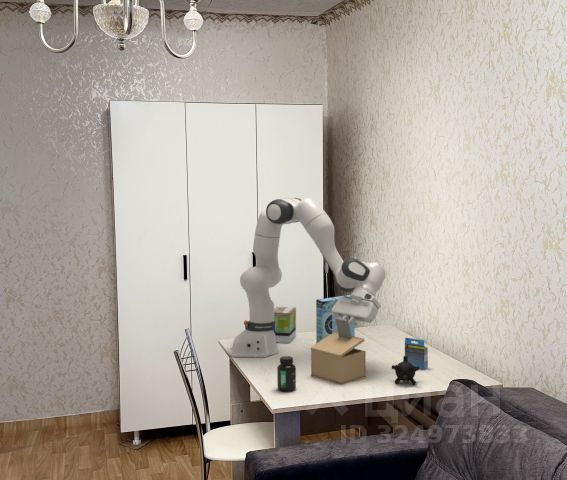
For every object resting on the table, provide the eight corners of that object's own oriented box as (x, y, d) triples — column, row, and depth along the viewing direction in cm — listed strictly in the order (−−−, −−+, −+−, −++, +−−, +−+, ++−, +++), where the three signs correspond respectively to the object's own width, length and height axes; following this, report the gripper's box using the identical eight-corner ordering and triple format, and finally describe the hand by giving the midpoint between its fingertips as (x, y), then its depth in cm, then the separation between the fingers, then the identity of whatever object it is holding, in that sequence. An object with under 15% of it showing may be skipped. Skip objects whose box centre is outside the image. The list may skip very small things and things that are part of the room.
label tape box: (428, 367, 291) (428, 338, 290) (424, 370, 288) (424, 340, 286) (408, 364, 296) (408, 335, 295) (404, 366, 293) (404, 337, 291)
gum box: (348, 342, 334) (348, 294, 332) (355, 344, 330) (355, 295, 327) (315, 349, 323) (315, 299, 320) (322, 351, 318) (322, 300, 316)
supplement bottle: (284, 393, 260) (284, 361, 258) (273, 388, 265) (273, 357, 264) (299, 389, 264) (299, 358, 262) (288, 385, 269) (288, 354, 268)
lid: (334, 334, 288) (330, 314, 286) (364, 340, 277) (360, 320, 274) (311, 349, 280) (306, 329, 277) (340, 357, 268) (335, 336, 266)
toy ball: (384, 378, 266) (386, 362, 277) (404, 397, 267) (405, 379, 278) (405, 362, 262) (405, 346, 273) (425, 380, 263) (425, 364, 274)
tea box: (290, 343, 333) (290, 312, 332) (269, 342, 335) (269, 311, 334) (296, 336, 348) (296, 306, 346) (276, 335, 350) (275, 305, 348)
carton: (335, 368, 290) (335, 343, 289) (365, 377, 279) (365, 351, 277) (311, 375, 281) (311, 350, 280) (340, 384, 269) (340, 357, 268)
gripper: (338, 290, 292) (321, 318, 286) (376, 297, 277) (360, 326, 271) (345, 300, 295) (329, 327, 290) (384, 306, 280) (368, 335, 275)
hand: (344, 326), depth 280 cm, fingers closed, pressing on lid
